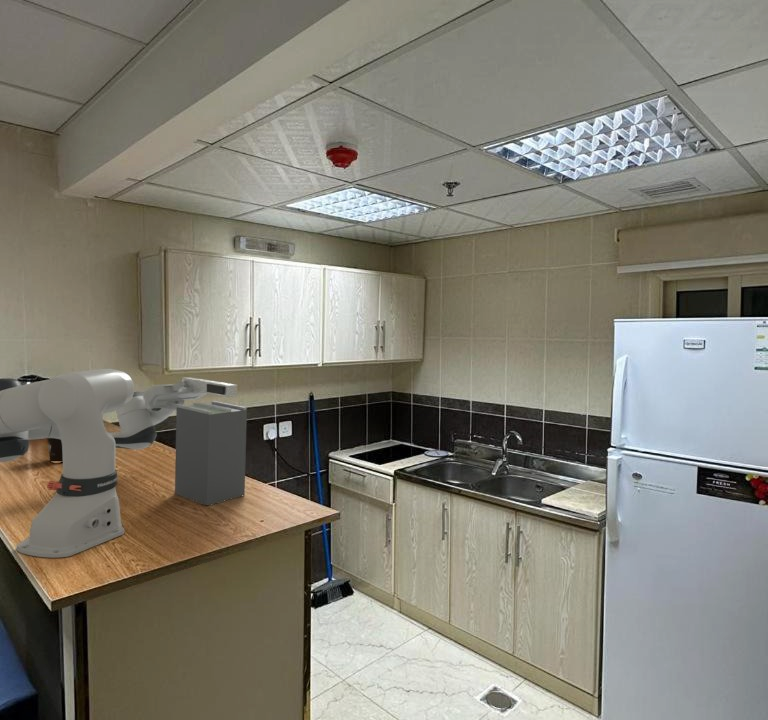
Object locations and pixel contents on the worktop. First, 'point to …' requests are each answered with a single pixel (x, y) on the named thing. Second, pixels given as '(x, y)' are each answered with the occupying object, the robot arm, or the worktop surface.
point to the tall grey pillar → (210, 451)
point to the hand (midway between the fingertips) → (191, 382)
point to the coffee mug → (55, 449)
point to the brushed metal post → (210, 387)
